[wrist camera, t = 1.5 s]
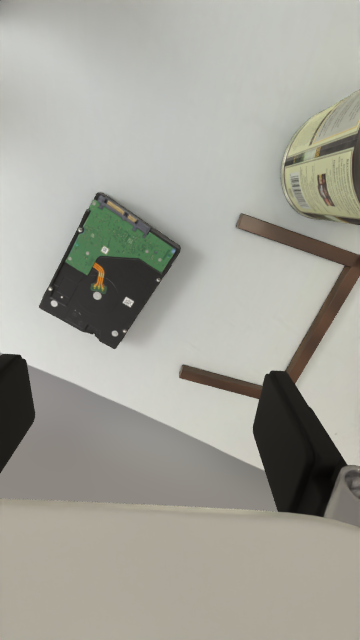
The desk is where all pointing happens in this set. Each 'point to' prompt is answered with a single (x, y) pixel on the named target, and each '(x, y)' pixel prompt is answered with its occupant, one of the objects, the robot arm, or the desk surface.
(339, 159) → the coffee can
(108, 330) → the disk drive
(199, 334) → the desk surface
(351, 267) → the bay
